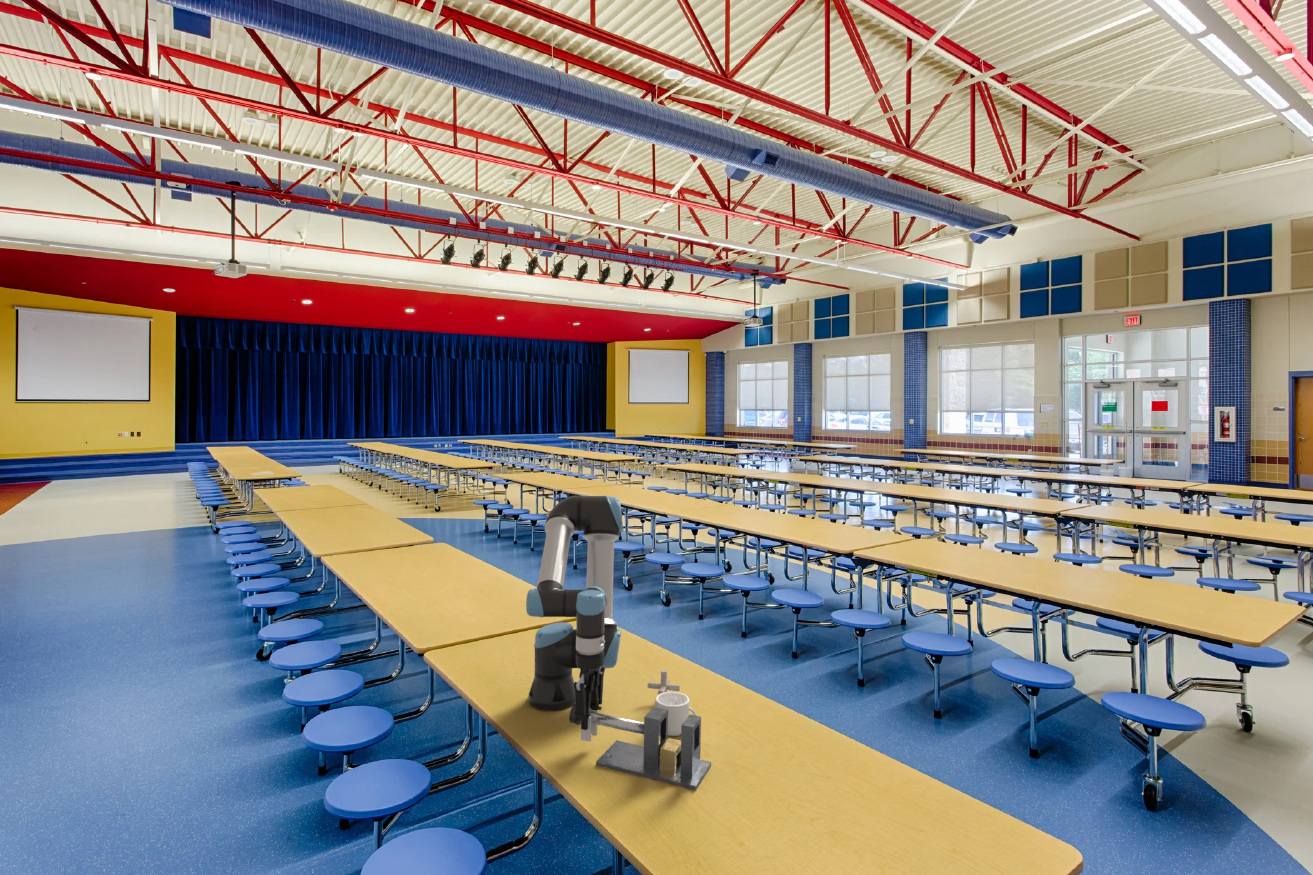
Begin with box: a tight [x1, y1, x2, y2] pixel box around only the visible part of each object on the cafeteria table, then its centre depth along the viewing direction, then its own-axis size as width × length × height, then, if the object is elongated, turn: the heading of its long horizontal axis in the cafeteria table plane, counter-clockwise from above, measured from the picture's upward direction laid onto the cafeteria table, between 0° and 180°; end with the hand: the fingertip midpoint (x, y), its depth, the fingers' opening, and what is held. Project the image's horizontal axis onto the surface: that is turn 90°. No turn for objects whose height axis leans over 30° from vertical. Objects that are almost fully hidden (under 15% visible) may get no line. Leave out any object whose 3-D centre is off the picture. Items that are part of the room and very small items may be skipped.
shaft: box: [568, 703, 644, 736], centre depth 172 cm, size 23×5×5 cm, turn 67°
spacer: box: [660, 737, 681, 774], centre depth 166 cm, size 4×6×6 cm
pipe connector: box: [646, 669, 681, 696], centre depth 205 cm, size 10×10×10 cm
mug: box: [654, 691, 697, 737], centre depth 187 cm, size 12×10×9 cm
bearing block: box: [595, 707, 712, 791], centre depth 168 cm, size 27×12×14 cm, turn 67°
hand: (589, 736), depth 175 cm, fingers closed on shaft, 3 cm apart
